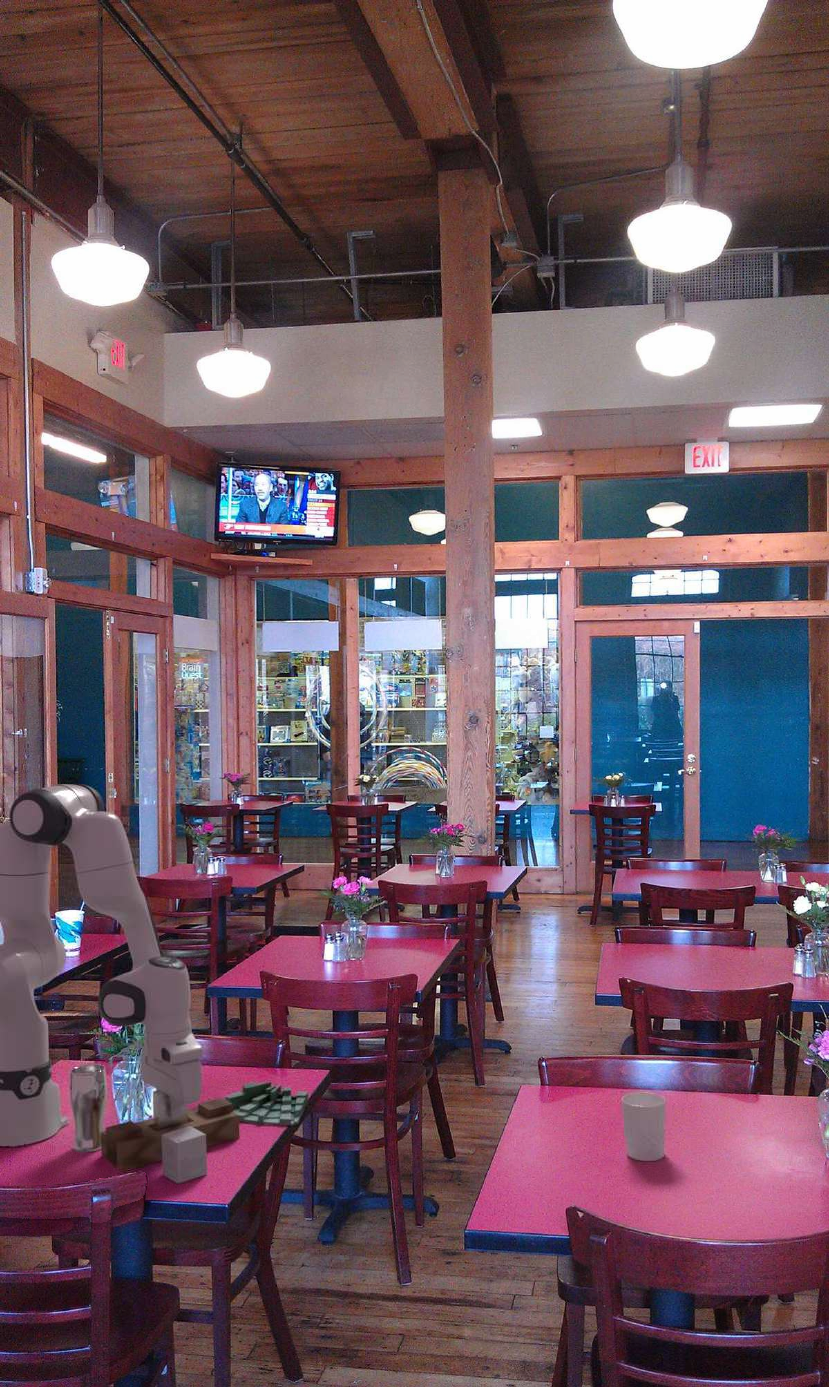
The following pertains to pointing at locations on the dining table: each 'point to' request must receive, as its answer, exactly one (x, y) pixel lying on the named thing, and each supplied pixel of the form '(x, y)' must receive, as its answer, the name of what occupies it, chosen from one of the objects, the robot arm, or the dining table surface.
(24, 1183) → the dining table surface
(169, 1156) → the product box
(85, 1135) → the beer glass
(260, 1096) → the money
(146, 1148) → the wooden display stand
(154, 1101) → the bracket
